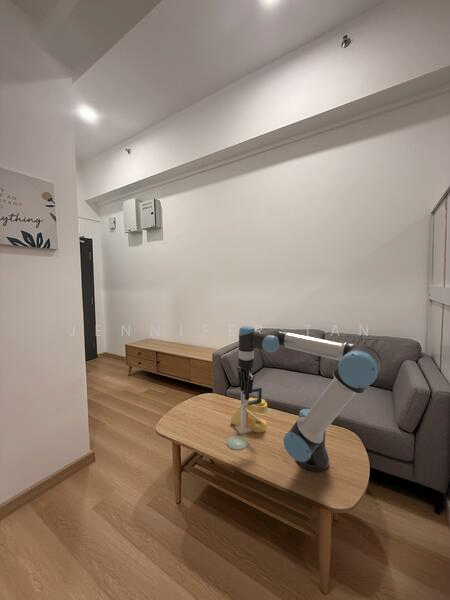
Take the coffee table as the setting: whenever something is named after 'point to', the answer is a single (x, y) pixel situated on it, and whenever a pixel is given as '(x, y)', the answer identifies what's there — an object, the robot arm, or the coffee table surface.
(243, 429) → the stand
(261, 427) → the clamp
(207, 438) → the coffee table surface
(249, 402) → the link
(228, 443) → the coaster
